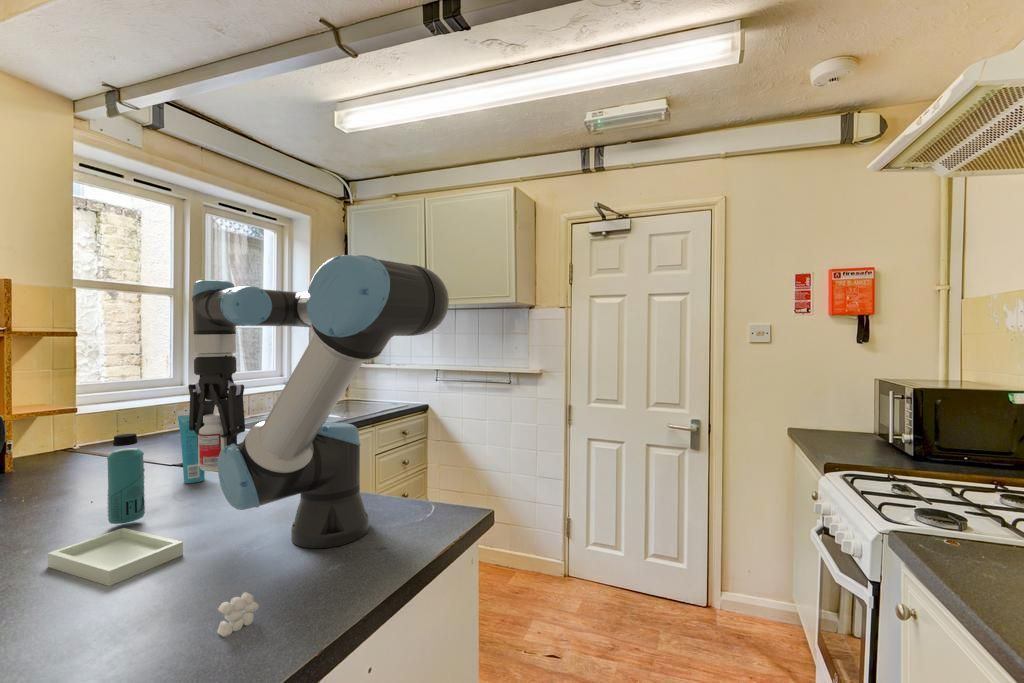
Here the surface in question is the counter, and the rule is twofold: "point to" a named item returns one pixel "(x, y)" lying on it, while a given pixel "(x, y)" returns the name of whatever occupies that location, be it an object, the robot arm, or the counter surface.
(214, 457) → the pill bottle
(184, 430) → the tube
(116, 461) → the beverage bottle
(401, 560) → the counter surface
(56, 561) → the tray
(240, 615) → the white bumpy cluster
